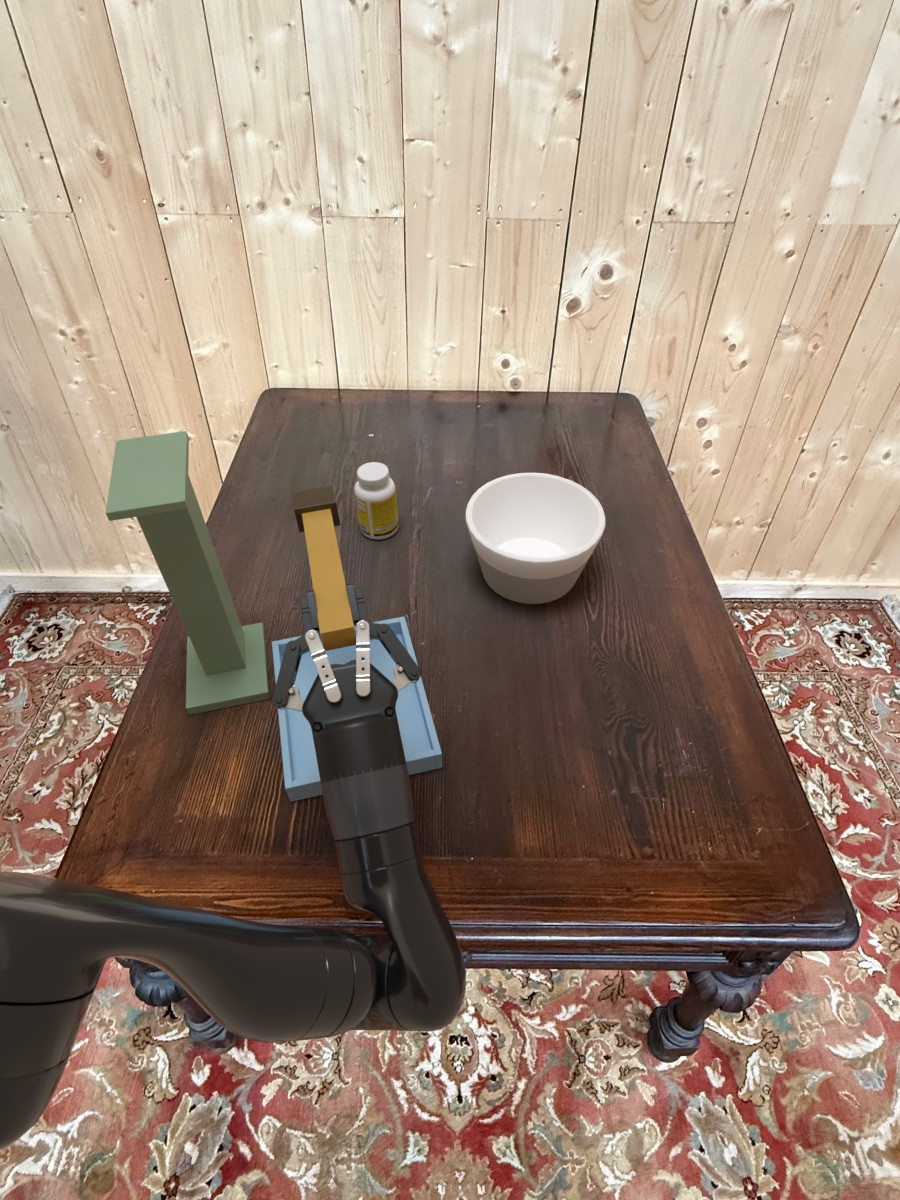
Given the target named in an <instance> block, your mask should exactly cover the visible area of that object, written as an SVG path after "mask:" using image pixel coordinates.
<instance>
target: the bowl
mask: <svg viewBox="0 0 900 1200" xmlns="http://www.w3.org/2000/svg"><path fill="white" fill-rule="evenodd" d="M606 519H607V518H606V513H605V511H604V508H603V506H602V504H601V503H600V501H599V499H598V498H597V497H596V496H595V495H594V494H593V493H592V492H591V491H590V490H588V489H587V488H586V487H584V486H582V485H581V484H579V483H578V482H575V481H574V480H571V479H567V478H565V477H562V476H560V475H555V474H550V473H543V472H519V473H511V474H506V475H504V476H499V477H497V478H495V479H493V480H491V481H488V482H486V483H485V484H484V485H482V486H480V487H479V488H478V489H477V490H476V491H475V492H474V493H473V494H472V495H471V497H470V499H469V501H468V502H467V504H466V508H465V523H466V527H467V529H468V532H469V535H470V539H471V543H472V545H473V548H474V551H475V554H476V557H477V561H478V563H479V566H480V569H481V570H480V571H481V573H482V575H483V579H484V581H485V583H486V584H487V585H488V587H489V588H490V589H491V590H492V591H494V593H495V594H497V595H499V596H500V597H502V598H504V599H506V600H509V601H512V602H514V603H519V604H527V605H540V604H546V603H547V604H548V603H551V602H553V601H556V600H559V599H560V598H562V597H564V596H565V595H567V594H568V593H570V591H571V590H572V588H573V587H574V586H575V584H576V582H577V581H578V579H579V577H580V575H581V574H582V572H583V570H584V569H585V567H586V565H587V563H588V561H589V560H590V558H591V556H592V555H593V553H594V551H595V550H596V548H597V546H598V544H599V543H600V540H601V539H602V537H603V534H604V532H605V529H606Z"/></svg>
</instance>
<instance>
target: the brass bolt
mask: <svg viewBox="0 0 900 1200" xmlns="http://www.w3.org/2000/svg"><path fill="white" fill-rule="evenodd" d="M335 494H336V493H335V490H334V486H333V485H326V486H321V487H315V488H309V489H302V490H297V491H292V492H291V500H292V507H293V512H294V517H295V521H296V524H297V528H298V532H299V534H300V533H304V537H305V538H304V539H305V543H306V551H307V557H308V563H309V570H310V577H311V583H312V589H314V593H315V599H316V606H317V612H318V614H317V617H318V623H319V630H320V635H321V639H322V643H323V647H324V650H325V651H329V650H334V649H339V648H344V647H349V646H353V645H356V634H355V629H354V624H353V619H352V614H351V609H350V604H349V599H348V594H347V589H346V580H345V579H346V578H345V574H344V569H343V564H342V559H341V554H340V549H339V544H338V540H337V534H336V527H339V526H341V520H340V515H339V510H338V505H337V499H336V495H335Z"/></svg>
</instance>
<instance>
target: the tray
mask: <svg viewBox="0 0 900 1200" xmlns="http://www.w3.org/2000/svg"><path fill="white" fill-rule="evenodd" d="M372 622H373V623H377V624H383V623H385V624H387V625H389V626H390V628H391V629H392V631H393V632H394V633H395V635H396V636H397V638H398V639H399V640H400V642H401V643H402V645H403V646H404V647H405V649H406V650H407V652H408V653H409V654H410V656H411V657H412V659H413V660H414V661H415V663H416V664H417V666H418V667H419V664H418V661H417V656H416V654H415V650H414V646H413V642H412V639H411V636H410V631H409V628H408V624H407V620H406V617H405V616H399V617H394V618H388V619H383V620H377V621H372ZM354 629H355V634H356V626H354ZM301 636H302V635H300V636H293V637H288V638H283V639H277V640H273V641H272V640H271V646H272V648H271V650H272V659H273V669H274V683H275V684H276V683H277V679H278V675H279V671H280V667H281V664H282V660H283V656H284V652H285V649H286V645H287V643H288V642H289V641H292V640H296V639H298V638H300V637H301ZM320 636H321V635H320ZM321 642H322V639H321ZM322 645H323V643H322ZM325 653H326V655H327V658H328V660H329V663H330V665H331V664H346V663H348V662H350V661H352V660H356V645H353V646H349V647H344V648H339V649H334V650H329V651H325ZM370 663H371V664H372V665H373V666H374V667H375V668H376V669H378V670H379V671H380V672H381V673H382V674H383V675H384V676H385V677H386V678H387V679H388V680H390V681H391V682H392V683H393V682H394V681H395V676H394V673H393V670H394V667H395V666H396V663H395V662H394V661H393V659H392V658H391V656H390V655H389V653H388V652H387V651H386V649H385V648H384V646H383V645H382V644H381V642H380V641H379V640H376V639H370ZM317 675H318V671H317V669H316V666H315V663H314V660H313V658H312V655H311V652H310V651H308V652H306V653H304V654H303V655H302V657H301V661H300V665H299V668H298V672H297V676H296V680H295V684H294V686H296V687H297V688H298V689H299V690H300V698H301V700H303V701H305V699H306V697H307V695H308V693H309V691H310V689H311V687H312V685H313V683H314V681H315V679H316V677H317ZM430 708H431V707H430V705H429V701H428V698H427V694H426V690H425V686H424V683H423V679H422V675H421V676H420V678H419V680H418V681H417V682H416V683H411V684H409V685H408V686H406V687H405V688H404V689H402V690H401V691H399V692H398V699H397V702H396V714H397V719H398V724H399V729H400V734H401V739H402V744H403V749H404V755H405V760H406V765H407V770H408V773H409V776H411V775H417V774H420V773H425V772H430V771H434V770H439V769H442V768H443V753H442V748H441V745H440V742H439V738H438V733H437V730H436V727H435V723H434V719H433V716H432V711H431V709H430ZM277 714H278V726H279V736H280V737H279V738H280V746H281V758H282V759H281V760H282V767H283V768H282V770H283V771H282V772H283V781H284V790H285V792H286V795H287V797H288V801H289V802H290V803H292V802H296V801H301V800H305V799H311V798H314V797H318V796H322V787H321V781H320V776H319V770H318V764H317V758H316V752H315V746H314V741H313V735H312V729H311V726H310V724H309V722H308V720H307V719H306V718H305V717H304V715H303V712H299V711H295V710H290V709H284V710H281V709H278V708H277Z"/></svg>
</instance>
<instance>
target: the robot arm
mask: <svg viewBox="0 0 900 1200" xmlns="http://www.w3.org/2000/svg"><path fill="white" fill-rule="evenodd" d="M345 584H346V589H347V594H348V599H349V604H350V609H351V614H352V619H353V624H354V626H356V660H352V661H350V662H348V663H346V664H331V665H330V663H329V660H328V658H327V655H326V653H325V650H324V647H323V645H322V642H321V636H320V630H319V623H318V617H317V614H318V612H317V606H316V599H315V593H314V589H313V588H312V589H306V590H305V595H306V596H303V597H301V598H300V602H299V603H300V604H299V605H300V610H301V616H302V622H303V626H304V632H303V634H302V635H300V636H301V637H300V638H298V639H296V640H292V641H289V642H288V643H287V645H286V649H285V652H284V656H283V660H282V664H281V667H280V671H279V675H278V679H277V683H275V687H274V691H273V694H272V698H271V703H272V705H273V706H274V707H275V708H276V709H277V710H278V709H281V710H284V709H290V710H295V711H299V712H303V715H304V717H305V718H306V719H307V720H308V722H309V724H310V726H311V729H312V735H313V741H314V746H315V752H316V758H317V764H318V770H319V776H320V781H321V787H322V795H321V796H322V798H323V804H324V805H323V806H324V810H325V814H326V818H327V821H328V825H329V828H330V831H331V834H332V839H333V843H334V849H335V855H336V860H337V861H336V862H337V866H338V867H337V868H338V873H339V879H340V885H341V889H342V893H343V897H344V899H345V901H346V902H347V904H348V905H349V906H351V908H354V909H357V910H359V911H363V912H367V913H370V914H372V915H374V916H376V917H377V918H378V919H379V920H380V921H381V923H382V925H383V926H384V929H385V930H386V932H387V933H377V934H375V933H374V934H373V933H372V934H355V933H353V932H351V931H346V930H344V929H341V928H332V927H323V926H322V927H321V926H306V925H305V926H304V925H287V924H286V925H285V924H284V925H283V924H276V923H275V924H273V923H266V922H260V921H255V920H249V919H248V920H247V919H243V918H239V917H234V916H230V915H225V914H222V913H218V912H214V911H210V910H206V909H202V908H198V907H193V906H190V905H186V904H181V903H178V902H173V901H169V900H164V899H160V898H154V897H149V896H145V895H140V894H135V893H132V892H131V893H130V892H126V891H122V890H117V889H113V888H108V887H105V886H104V887H103V886H99V885H95V884H89V883H84V882H79V881H74V880H70V879H65V878H61V877H59V878H58V877H53V876H48V875H41V874H34V873H26V872H25V873H24V872H15V871H14V872H12V871H0V1150H2V1149H5V1148H6V1147H8V1146H10V1145H12V1144H14V1143H15V1142H17V1141H18V1140H20V1139H21V1138H22V1137H23V1136H24V1135H26V1134H27V1132H28V1131H30V1129H32V1128H33V1127H34V1126H36V1123H37V1122H38V1121H39V1120H40V1118H41V1117H42V1116H43V1115H44V1113H45V1110H46V1109H47V1107H48V1105H49V1103H51V1100H52V1099H53V1096H54V1095H55V1092H56V1090H57V1089H58V1086H59V1084H60V1082H61V1079H62V1077H63V1074H64V1072H65V1070H66V1067H67V1064H68V1062H69V1060H70V1057H71V1054H72V1051H73V1049H74V1047H75V1045H76V1042H77V1039H78V1036H79V1034H80V1031H81V1029H82V1026H83V1023H84V1021H85V1018H86V1017H87V1016H86V1015H87V1013H88V1010H89V1007H90V1005H91V1002H92V1000H93V996H94V995H95V991H96V988H97V985H98V983H99V980H100V978H101V975H102V974H103V973H102V972H103V970H104V968H105V964H106V962H107V961H108V960H110V959H113V958H121V959H130V960H135V961H140V962H144V963H146V964H148V965H151V966H153V967H155V968H157V969H159V970H160V971H162V972H163V973H165V974H166V975H167V976H168V977H169V978H170V979H172V980H173V981H174V982H176V983H177V984H178V985H179V986H180V987H181V988H182V989H183V990H184V991H185V992H186V993H187V994H188V995H189V996H191V998H192V999H193V1000H194V1001H195V1002H196V1003H197V1004H198V1006H200V1008H201V1009H203V1011H205V1013H207V1015H208V1016H210V1017H211V1018H212V1019H213V1020H214V1021H215V1022H216V1023H217V1024H218V1025H219V1026H221V1027H222V1028H223V1029H225V1030H226V1031H227V1032H230V1033H232V1034H233V1035H236V1036H238V1037H240V1038H242V1039H245V1040H248V1041H252V1042H258V1043H264V1044H266V1043H267V1044H278V1043H279V1044H280V1043H289V1042H298V1041H299V1042H300V1041H308V1040H309V1041H311V1040H320V1039H321V1040H322V1039H328V1038H332V1037H333V1038H334V1037H337V1036H340V1035H342V1034H345V1033H348V1032H350V1031H392V1032H393V1031H395V1032H397V1031H398V1032H400V1031H401V1032H422V1033H423V1032H435V1031H436V1032H437V1031H441V1030H444V1029H446V1028H447V1027H448V1026H449V1025H451V1024H452V1023H453V1022H454V1021H455V1019H456V1018H457V1017H458V1015H459V1014H460V1012H461V1009H462V1007H463V1004H464V1001H465V997H466V990H467V969H466V963H465V958H464V955H463V952H462V948H461V945H460V943H459V940H458V938H457V936H456V933H455V931H454V929H453V927H452V925H451V922H450V920H449V919H448V917H447V914H446V912H445V910H444V908H443V906H442V904H441V902H440V899H439V897H438V895H437V892H436V890H435V889H434V886H433V885H432V883H431V880H430V878H429V875H428V874H427V872H426V869H425V866H424V861H423V857H422V856H423V855H422V850H421V845H420V840H419V836H418V835H419V834H418V831H417V825H416V822H415V820H416V819H415V813H414V799H413V791H412V790H413V789H412V786H411V785H412V784H411V781H410V780H411V779H410V775H409V773H408V770H407V765H406V760H405V755H404V749H403V744H402V739H401V734H400V729H399V724H398V719H397V714H396V702H397V699H398V692H399V691H401V690H402V689H404V688H405V687H406V686H408V685H409V684H411V683H416V682H417V681H418V680H419V678H420V676H421V677H422V670H421V668H420V667H419V665H418V666H417V664H418V663H417V664H416V663H415V661H414V660H413V659H412V657H411V656H410V654H409V653H408V652H407V650H406V649H405V647H404V646H403V645H402V643H401V642H400V640H399V639H398V638H397V636H396V635H395V633H394V632H393V631H392V629H391V628H390V626H389V625H387V624H385V623H383V624H377V623H373V622H374V621H371V620H370V619H369V617H368V612H367V606H366V602H365V601H366V600H365V597H364V592H363V590H362V588H361V587H355V585H354V582H353V581H351V582H345ZM370 639H376V640H379V641H380V642H381V644H382V645H383V646H384V648H385V649H386V651H387V652H388V653H389V655H390V656H391V658H392V659H393V661H394V662H395V663H396V666H395V667H394V670H393V673H394V676H395V681H394V682H393V683H392V682H391V681H390V680H388V679H387V678H386V677H385V676H384V675H383V674H382V673H381V672H380V671H379V670H378V669H376V668H375V667H374V666H373V665H372V664H371V663H370ZM308 651H310V652H311V655H312V658H313V660H314V663H315V666H316V669H317V671H318V675H317V677H316V679H315V681H314V683H313V685H312V687H311V689H310V691H309V693H308V695H307V697H306V699H305V701H303V700H301V698H300V690H299V689H298V688H297V687H296V686H294V684H295V680H296V676H297V672H298V668H299V665H300V661H301V657H302V655H303V654H304V653H306V652H308Z"/></svg>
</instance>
